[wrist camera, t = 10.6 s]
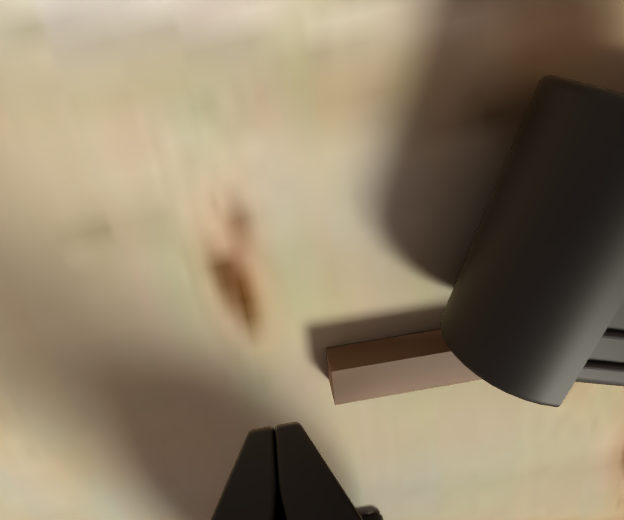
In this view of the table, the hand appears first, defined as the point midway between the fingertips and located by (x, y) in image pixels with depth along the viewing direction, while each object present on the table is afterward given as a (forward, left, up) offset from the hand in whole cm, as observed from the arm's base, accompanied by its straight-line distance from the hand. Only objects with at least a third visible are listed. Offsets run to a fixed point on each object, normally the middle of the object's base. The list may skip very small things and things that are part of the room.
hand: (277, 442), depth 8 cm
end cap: (-2, -11, -12) cm, 17 cm away
